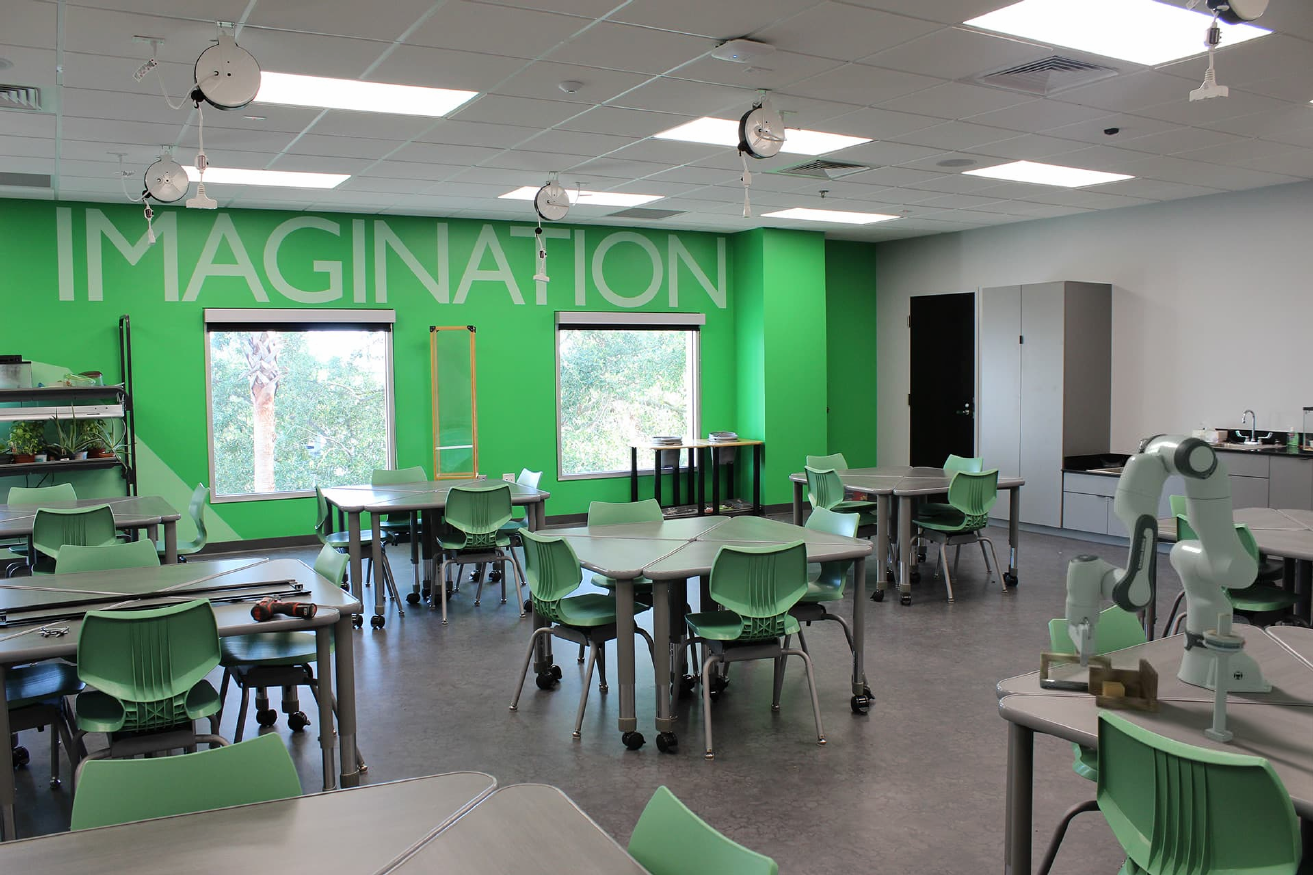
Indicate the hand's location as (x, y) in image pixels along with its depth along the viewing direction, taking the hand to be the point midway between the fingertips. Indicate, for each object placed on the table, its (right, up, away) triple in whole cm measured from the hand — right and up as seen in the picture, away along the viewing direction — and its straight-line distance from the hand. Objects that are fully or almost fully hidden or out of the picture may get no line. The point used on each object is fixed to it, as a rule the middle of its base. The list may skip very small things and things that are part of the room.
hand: (1080, 662), depth 263 cm
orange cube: (+3, -7, -13) cm, 15 cm away
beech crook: (-1, -6, +1) cm, 6 cm away
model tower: (+16, -9, -38) cm, 42 cm away
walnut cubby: (+5, -7, -13) cm, 16 cm away
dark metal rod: (-6, -7, -3) cm, 9 cm away
